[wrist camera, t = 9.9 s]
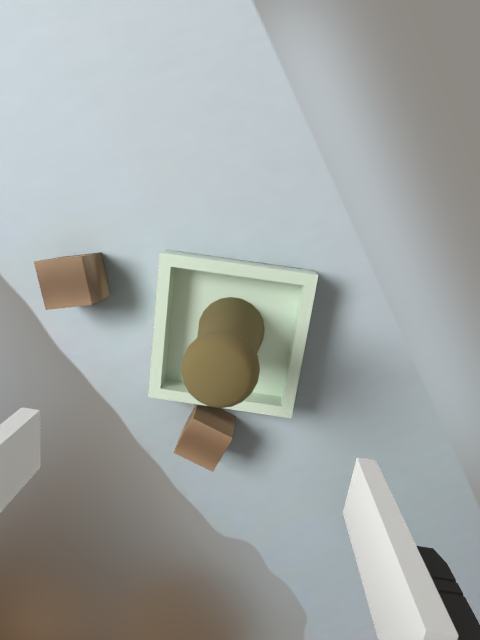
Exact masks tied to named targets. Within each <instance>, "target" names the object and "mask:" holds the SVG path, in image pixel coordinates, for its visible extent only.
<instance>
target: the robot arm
mask: <svg viewBox="0 0 480 640" xmlns="http://www.w3.org/2000/svg"><path fill="white" fill-rule="evenodd" d="M40 465H41V462H40V410H35V409H29V408H20V409H19V410H18V411H17V412H15V413H14V414H13V415H12V416H10V417H9V418H8V419H7V420H5V421H4V422H3V423H1V424H0V512H1V511H2V510H3V509H4V508H5V507H6V506H7V504H8V503H9V502H10V501H11V500H12V499H13V498H14V497H15V495H16V494H17V493H18V492H19V491H20V490H21V489H22V488H23V486H24V485H25V484H26V483H27V482H28V481H29V480H30V478H31V477H32V476H33V475H34V474H35V473H36V472H37V470H38V469H39V468H40V467H41V466H40ZM343 515H344V518H345V522H346V525H347V529H348V533H349V536H350V540H351V543H352V547H353V551H354V554H355V558H356V561H357V565H358V569H359V572H360V576H361V580H362V583H363V587H364V590H365V594H366V598H367V601H368V605H369V608H370V612H371V616H372V619H373V623H374V626H375V630H376V634H377V637H378V640H480V625H479V623H478V621H477V619H476V617H475V615H474V613H473V611H472V610H471V608H470V606H469V604H468V602H467V600H466V598H465V597H463V593H462V591H461V589H460V587H459V585H458V583H456V580H455V578H454V576H453V574H452V572H451V570H450V569H449V567H448V565H447V563H446V562H445V561H444V560H443V559H442V558H441V557H440V556H439V555H438V553H437V552H436V551H435V550H434V549H433V548H426V547H420V546H416V544H415V542H414V540H413V538H412V536H411V534H410V532H409V529H408V527H407V525H406V523H405V521H404V519H403V517H402V515H401V513H400V510H399V508H398V506H397V504H396V502H395V500H394V498H393V496H392V493H391V491H390V489H389V487H388V485H387V483H386V481H385V479H384V476H383V474H382V472H381V470H380V468H379V466H378V464H377V462H376V460H372V459H365V458H358V457H357V459H356V463H355V467H354V471H353V475H352V479H351V483H350V487H349V491H348V495H347V499H346V503H345V507H344V511H343Z"/></svg>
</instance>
